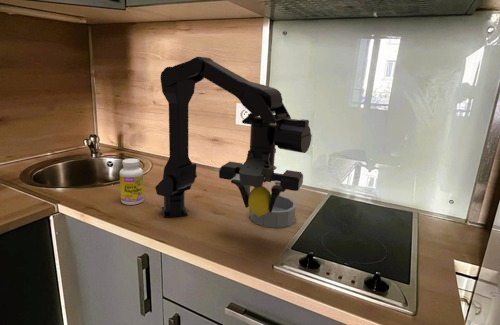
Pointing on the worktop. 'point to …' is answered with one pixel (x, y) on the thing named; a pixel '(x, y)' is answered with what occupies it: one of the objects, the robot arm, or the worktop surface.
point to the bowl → (277, 214)
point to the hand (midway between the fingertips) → (258, 209)
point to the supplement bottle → (131, 182)
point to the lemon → (259, 201)
